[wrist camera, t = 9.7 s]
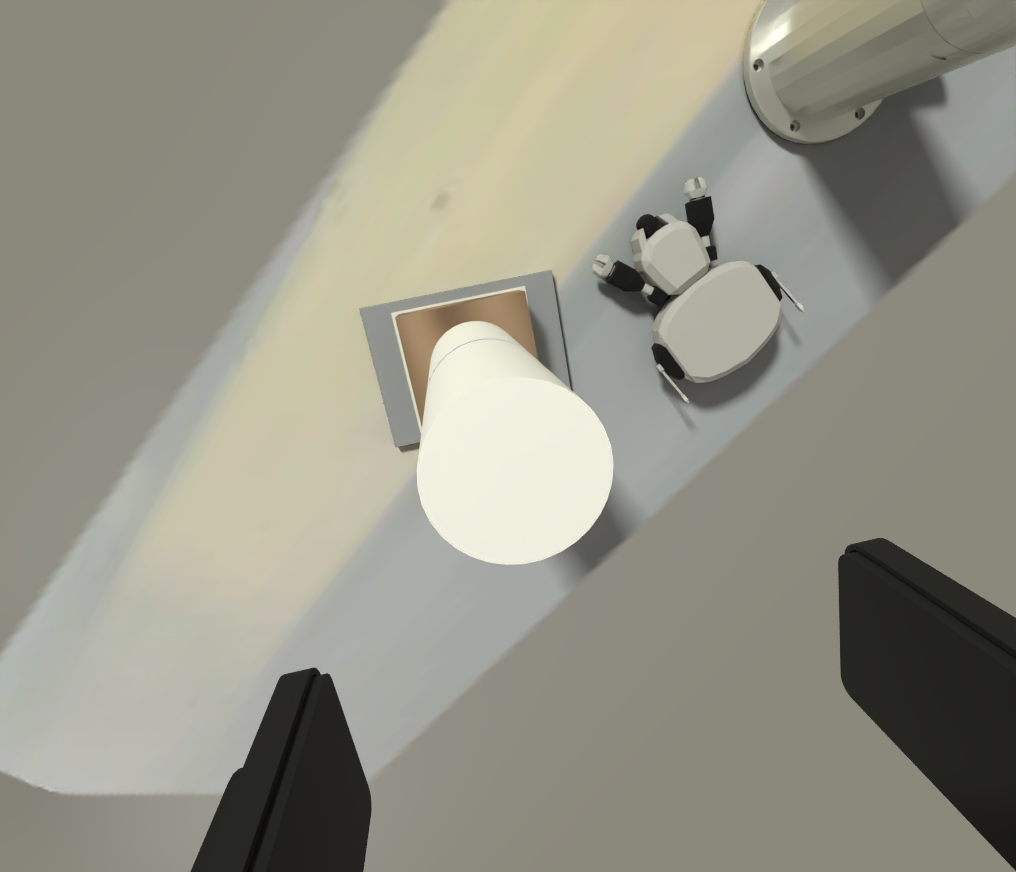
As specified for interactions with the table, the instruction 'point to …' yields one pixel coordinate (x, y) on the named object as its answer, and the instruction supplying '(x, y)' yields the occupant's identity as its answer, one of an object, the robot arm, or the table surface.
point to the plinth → (434, 322)
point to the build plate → (382, 316)
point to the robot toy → (698, 294)
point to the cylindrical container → (507, 451)
